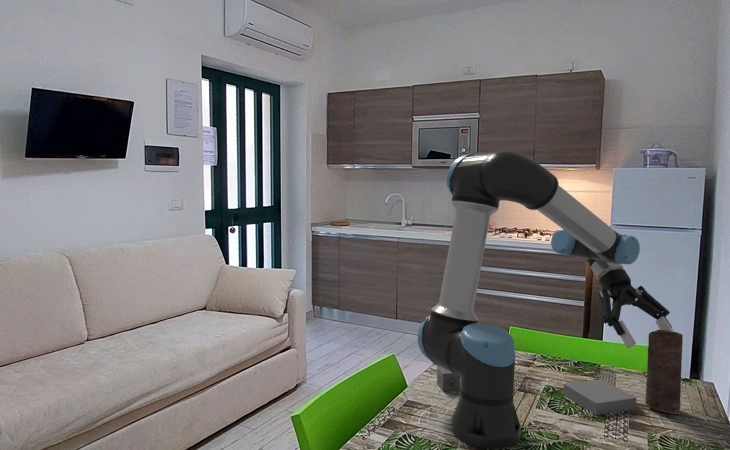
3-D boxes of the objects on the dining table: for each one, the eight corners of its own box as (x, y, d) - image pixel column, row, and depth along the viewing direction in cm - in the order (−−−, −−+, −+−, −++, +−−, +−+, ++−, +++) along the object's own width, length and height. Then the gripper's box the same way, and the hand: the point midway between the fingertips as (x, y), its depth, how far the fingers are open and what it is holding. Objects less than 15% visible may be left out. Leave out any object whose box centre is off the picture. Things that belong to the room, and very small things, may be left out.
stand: (595, 415, 118) (596, 403, 118) (563, 394, 129) (563, 384, 129) (635, 409, 121) (636, 397, 121) (600, 389, 133) (601, 379, 132)
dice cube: (460, 390, 132) (460, 372, 132) (442, 391, 132) (442, 373, 131) (453, 383, 137) (454, 365, 137) (436, 384, 136) (437, 366, 136)
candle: (662, 418, 116) (666, 337, 115) (637, 405, 123) (641, 328, 122) (687, 414, 118) (691, 334, 117) (661, 402, 125) (665, 326, 124)
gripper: (638, 280, 144) (680, 345, 131) (567, 284, 137) (604, 354, 124) (654, 265, 138) (700, 332, 125) (581, 269, 131) (622, 341, 118)
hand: (653, 343), depth 124 cm, fingers open, 13 cm apart
